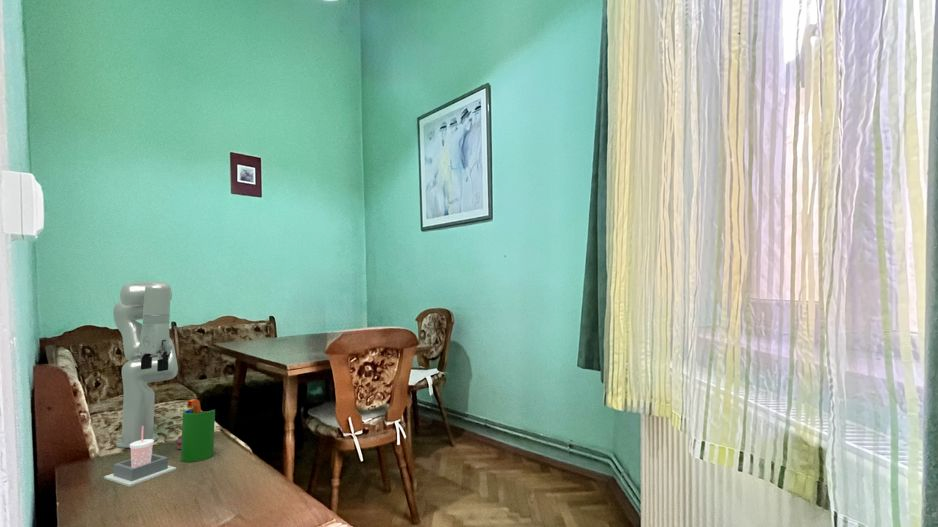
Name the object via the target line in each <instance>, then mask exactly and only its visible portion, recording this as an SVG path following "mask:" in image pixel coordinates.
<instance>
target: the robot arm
mask: <svg viewBox="0 0 938 527" xmlns="http://www.w3.org/2000/svg"><path fill="white" fill-rule="evenodd" d="M172 297H173V293H172V288H171V285H170V284H169V283H167V282H165V281H136V282H133V283H127V284H126V283H125V284H124V285H122V287H121V290H120V293H119V298H120V301H118V302H117V303H116V304H114V307H113V310H112V312H113V320H114V324H115V326H116V327H117V330H118V331H119V332H120V334H121V336H122V344H123V352H124V354H123V355H124V357H125V359H126V360H127V362H125V363H123V365H122V367H121V378H122V384H123V385H122V388H123V399H122V400H123V402H122V403H123V404H122V421H121V423H122V424H121V425H122V426H121V431H120V435H121V439H120V440H117V441H116V443H115V447H117V448H123V449H124V448H130V444H131V443H133V442H136V441H139V440H141V434H142V426H144V431H143V440H145V439H153V440H154V442H155V441H157V440H158V439H159V435H158V434H157V433H154V424H155V399H156V395H155V394H156V393H155V392H154V390H153V389H152V388H151V387H150V386H148V384H150V383H155V382H163V381H169V380H172V379H174V378H175V377H177V375H178V372H179V367H178V361H177V360H178V359H177V355H176V350H175V345H174V342H173V340H172V338H171V337H170V336H171V335H170V327H169V326H170V315H171V314H170V313H171V310H170V309H171V300H172ZM138 320H142V323H141V322H139V321H138Z"/></svg>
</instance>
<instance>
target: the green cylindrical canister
mask: <svg viewBox="0 0 938 527" xmlns="http://www.w3.org/2000/svg"><path fill="white" fill-rule="evenodd" d="M186 404H187V405H186V406H187V408H189V409H186V410H184V411H183V412H182V423H181V425H182V426H181V435H182V442H181V449H180V461H181V462H183V463H184V462H186V463H188V462H189V463H191V462H198V461H204V460H207V459H209V458H212V457H213V456H214V445H215V425H216V424H215V423H216V422H215V421H216V409H211V410H209V411H206V410H205V411H204V410H203V411H202V410H201V402H200V400H199V399H198V398H197V399H196V398H195V399H193V398H192V399H190V400H187V403H186Z"/></svg>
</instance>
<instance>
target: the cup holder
mask: <svg viewBox="0 0 938 527" xmlns="http://www.w3.org/2000/svg"><path fill="white" fill-rule="evenodd" d="M176 470H177V467H175V466H172V465H169V457H167V456H164V455H160V454H156V453H152V456H151V462H150V463H147V464H144V465H141V466H138V467H135V468H133V467H131V458H129V459H126V460H123V461H121V462H120V461H119V462H117V463H114V464H113V473H110V474H108V475H104V476H103V479H104V480H107V481H111V482H114V483H116V484H119V485H122V486H125V487H128V488H129V487H130V488H131V487H132V486H136V485H138V484H141V483H143V482H146V481H149V480H152V479H155V478H158V477H160V476H162V475H165V474H168V473H171V472H174V471H176Z"/></svg>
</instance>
